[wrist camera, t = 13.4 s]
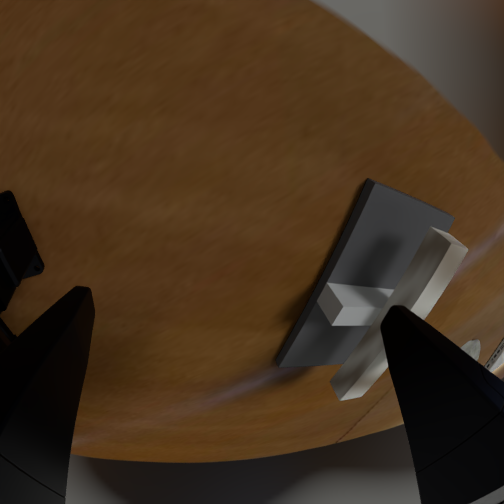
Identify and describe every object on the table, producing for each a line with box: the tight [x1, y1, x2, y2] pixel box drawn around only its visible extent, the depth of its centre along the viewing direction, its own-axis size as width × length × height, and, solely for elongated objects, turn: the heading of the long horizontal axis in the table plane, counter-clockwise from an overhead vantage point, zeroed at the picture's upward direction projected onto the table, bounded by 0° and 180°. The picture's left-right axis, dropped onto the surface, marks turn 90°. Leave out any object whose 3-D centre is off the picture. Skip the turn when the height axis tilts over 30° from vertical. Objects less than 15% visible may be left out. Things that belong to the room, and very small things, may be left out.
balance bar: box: [330, 226, 469, 401], centre depth 20 cm, size 18×3×12 cm, turn 161°
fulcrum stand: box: [276, 178, 455, 368], centre depth 27 cm, size 12×20×4 cm, turn 161°
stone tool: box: [461, 340, 480, 361], centre depth 52 cm, size 15×4×20 cm
